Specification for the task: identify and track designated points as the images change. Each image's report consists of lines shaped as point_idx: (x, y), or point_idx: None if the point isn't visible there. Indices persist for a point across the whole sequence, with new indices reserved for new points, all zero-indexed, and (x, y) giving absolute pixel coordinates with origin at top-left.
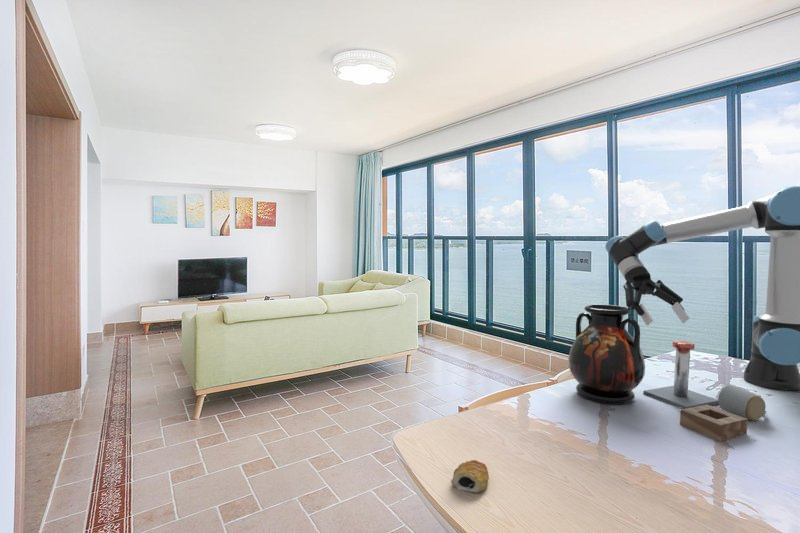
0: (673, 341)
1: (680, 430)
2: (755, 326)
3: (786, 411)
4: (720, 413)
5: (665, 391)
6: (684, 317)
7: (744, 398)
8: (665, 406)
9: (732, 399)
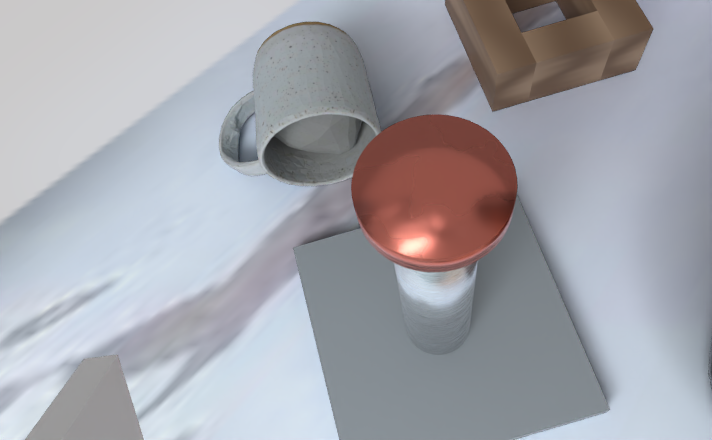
0: (481, 243)
1: (664, 29)
2: None
3: (101, 167)
4: (505, 3)
5: (482, 385)
6: (112, 412)
7: (343, 38)
8: (584, 235)
9: (364, 80)
